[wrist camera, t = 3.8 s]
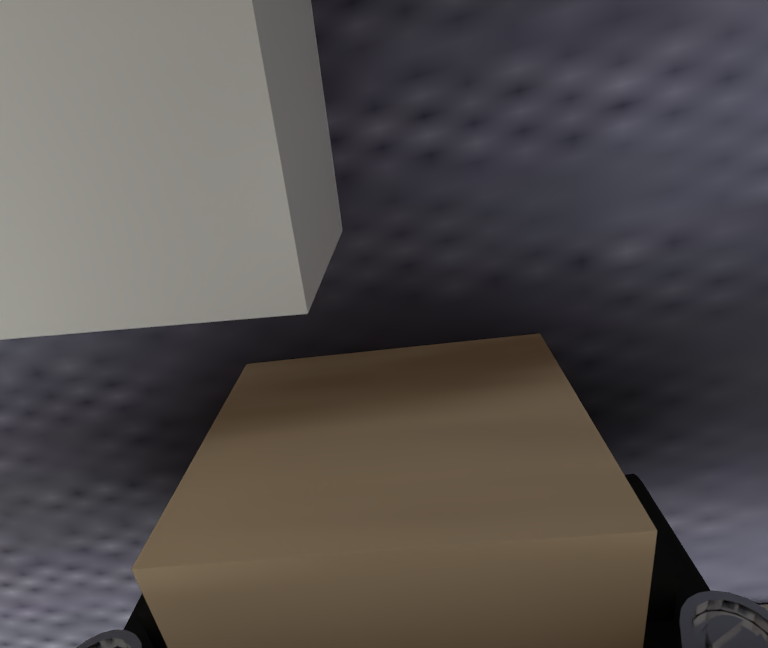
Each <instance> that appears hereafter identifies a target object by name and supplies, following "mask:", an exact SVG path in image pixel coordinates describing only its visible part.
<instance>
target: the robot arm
mask: <svg viewBox="0 0 768 648" xmlns="http://www.w3.org/2000/svg"><path fill="white" fill-rule="evenodd" d="M625 477H626V479H627V481H628V482H629V484H630V486H631V487H632V489H633V491H634V492H635V494H636V496H637V497H638V499H639V501H640V502H641V504H642V506H643V507H644V509H645V511H646V512H647V514H648V516H649V518H650V519H651V521H652V523H653V524H654V526H655V528H656V529H657V537H656V546H655V554H654V562H653V570H652V578H651V586H650V594H649V603H648V611H647V619H646V627H645V635H644V643H643V648H768V610H766V609H765V608H764V607H762V606H760V605H758V604H756V603H754V602H753V601H751V600H749V599H747V598H744V597H741V596H738V595H735V594H732V593H729V592H721V591H710V589H709V587H708V586H707V584H706V583H705V581H704V579H703V578H702V576H701V575H700V573H699V572H698V570H697V568H696V567H695V565H694V564H693V562H692V560H691V559H690V557H689V556H688V554H687V552H686V551H685V549H684V548H683V546H682V545H681V543H680V541H679V540H678V538H677V537H676V535H675V533H674V532H673V530H672V529H671V527H670V526H669V524H668V522H667V521H666V519H665V518H664V516H663V514H662V513H661V511H660V510H659V508H658V506H657V505H656V503H655V502H654V500H653V499H652V497H651V495H650V494H649V492H648V491H647V489H646V487H645V486H644V484H643V483H642V481H641V480H640V479H639V478H638V476H636V475H634V474H628V475H625ZM77 648H168V647H167V645H166V643H165V641H164V639H163V636H162V634H161V632H160V630H159V628H158V626H157V624H156V621H155V619H154V617H153V615H152V613H151V611H150V609H149V606H148V604H147V602H146V600H145V598H144V596H143V593H142V595H141V597H140V599H139V601H138V603H137V605H136V607H135V609H134V611H133V612H132V614H131V616H130V618H129V620H128V622H127V624H126V626H125V628H124V630H111V631H108V632H104V633H100V634H98V635H96V636H94V637H92V638H90V639H88V640H86V641H85V642H84V643H82V644H81V645H79V646H78V647H77Z"/></svg>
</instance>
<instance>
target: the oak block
mask: <svg viewBox="0 0 768 648" xmlns="http://www.w3.org/2000/svg"><path fill="white" fill-rule="evenodd" d="M656 537H657V529H656V528H655V526H654V524H653V523H652V521H651V519H650V518H649V516H648V514H647V512H646V511H645V509H644V507H643V506H642V504H641V502H640V501H639V499H638V497H637V496H636V494H635V492H634V491H633V489H632V487H631V486H630V484H629V482H628V481H627V479H626V477H625V475H624V474H623V472H622V470H621V469H620V467H619V465H618V464H617V462H616V460H615V459H614V457H613V455H612V454H611V452H610V450H609V449H608V447H607V445H606V444H605V442H604V440H603V439H602V437H601V435H600V433H599V432H598V430H597V428H596V427H595V425H594V423H593V422H592V420H591V418H590V417H589V415H588V413H587V412H586V410H585V408H584V407H583V405H582V403H581V402H580V400H579V398H578V397H577V395H576V393H575V391H574V390H573V388H572V386H571V385H570V383H569V381H568V380H567V378H566V376H565V375H564V373H563V371H562V370H561V368H560V366H559V365H558V363H557V361H556V360H555V358H554V356H553V354H552V353H551V351H550V349H549V348H548V346H547V344H546V343H545V341H544V339H543V338H542V336H541V334H530V335H520V336H511V337H501V338H491V339H482V340H472V341H462V342H453V343H443V344H433V345H424V346H414V347H404V348H395V349H385V350H375V351H366V352H356V353H346V354H337V355H327V356H317V357H308V358H298V359H288V360H279V361H269V362H259V363H250V364H246V366H245V367H244V369H243V371H242V373H241V375H240V376H239V378H238V380H237V382H236V384H235V385H234V387H233V389H232V391H231V392H230V394H229V396H228V398H227V400H226V401H225V403H224V405H223V407H222V408H221V410H220V412H219V414H218V416H217V417H216V419H215V421H214V423H213V425H212V426H211V428H210V430H209V432H208V433H207V435H206V437H205V439H204V441H203V442H202V444H201V446H200V448H199V449H198V451H197V453H196V455H195V457H194V458H193V460H192V462H191V464H190V466H189V467H188V469H187V471H186V473H185V474H184V476H183V478H182V480H181V482H180V483H179V485H178V487H177V489H176V490H175V492H174V494H173V496H172V498H171V499H170V501H169V503H168V505H167V506H166V508H165V510H164V512H163V514H162V515H161V517H160V519H159V521H158V523H157V524H156V526H155V528H154V530H153V531H152V533H151V535H150V537H149V539H148V540H147V542H146V544H145V546H144V547H143V549H142V551H141V553H140V555H139V556H138V558H137V560H136V562H135V564H134V565H133V567H132V569H131V570H132V572H133V574H134V576H135V578H136V581H137V583H138V585H139V587H140V589H141V591H142V593H143V596H144V598H145V600H146V602H147V604H148V606H149V609H150V611H151V613H152V615H153V617H154V619H155V621H156V624H157V626H158V628H159V630H160V632H161V634H162V636H163V639H164V641H165V643H166V645H167V647H168V648H643V643H644V635H645V627H646V619H647V611H648V603H649V594H650V586H651V578H652V570H653V562H654V554H655V546H656Z"/></svg>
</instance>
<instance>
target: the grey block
mask: <svg viewBox="0 0 768 648" xmlns="http://www.w3.org/2000/svg"><path fill="white" fill-rule="evenodd" d="M342 231H343V230H342V222H341V215H340V208H339V200H338V193H337V186H336V179H335V171H334V164H333V157H332V150H331V142H330V135H329V128H328V121H327V113H326V106H325V99H324V92H323V84H322V77H321V70H320V63H319V55H318V48H317V41H316V34H315V26H314V19H313V12H312V5H311V0H0V340H2V339H14V338H26V337H38V336H50V335H61V334H73V333H85V332H97V331H109V330H121V329H133V328H145V327H157V326H169V325H181V324H192V323H204V322H216V321H228V320H240V319H252V318H264V317H276V316H288V315H300V314H308V312H309V310H310V307H311V305H312V303H313V300H314V298H315V295H316V293H317V291H318V288H319V286H320V284H321V281H322V279H323V276H324V274H325V272H326V269H327V267H328V264H329V262H330V260H331V257H332V255H333V252H334V250H335V248H336V245H337V243H338V241H339V238H340V236H341V233H342Z"/></svg>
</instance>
